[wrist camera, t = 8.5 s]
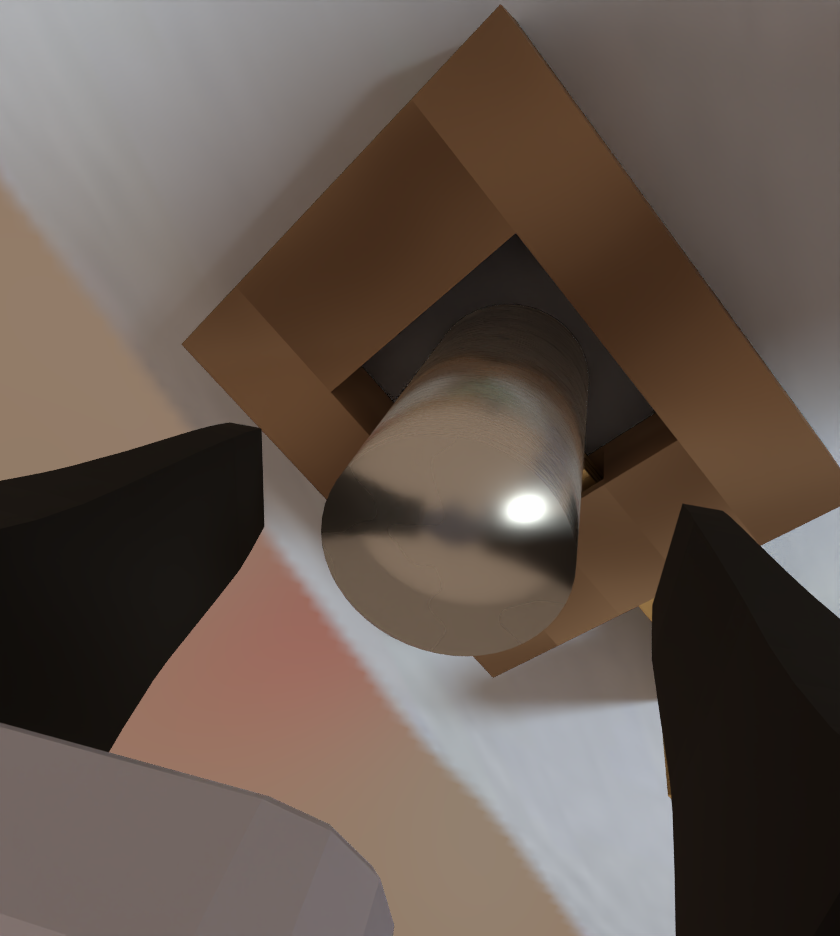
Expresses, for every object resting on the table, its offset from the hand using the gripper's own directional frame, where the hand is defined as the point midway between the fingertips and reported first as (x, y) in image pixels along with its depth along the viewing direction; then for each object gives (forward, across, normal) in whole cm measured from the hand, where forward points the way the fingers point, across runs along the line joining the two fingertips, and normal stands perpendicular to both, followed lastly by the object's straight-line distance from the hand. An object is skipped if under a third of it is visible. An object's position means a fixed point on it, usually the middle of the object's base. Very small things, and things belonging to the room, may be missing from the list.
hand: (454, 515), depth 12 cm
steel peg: (+7, 0, 0) cm, 7 cm away
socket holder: (+7, 0, 0) cm, 7 cm away
